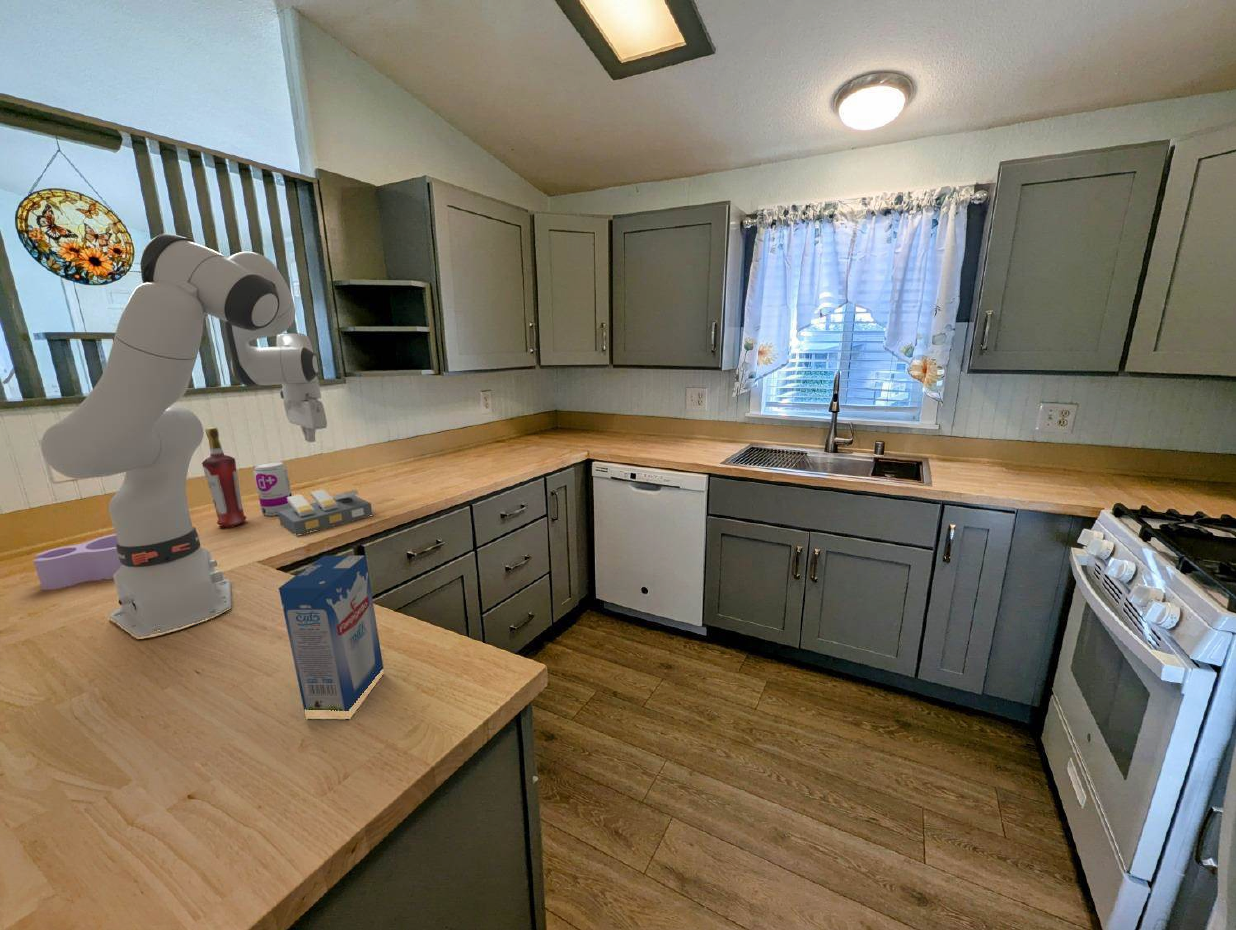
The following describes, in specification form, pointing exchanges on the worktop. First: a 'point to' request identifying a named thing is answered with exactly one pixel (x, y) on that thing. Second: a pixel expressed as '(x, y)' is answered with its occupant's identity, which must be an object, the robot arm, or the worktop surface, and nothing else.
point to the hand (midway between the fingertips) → (310, 441)
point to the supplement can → (272, 487)
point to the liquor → (223, 483)
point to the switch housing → (325, 515)
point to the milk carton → (332, 631)
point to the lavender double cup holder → (78, 563)
